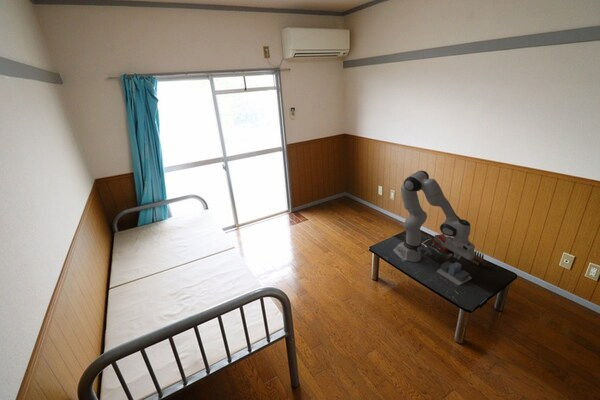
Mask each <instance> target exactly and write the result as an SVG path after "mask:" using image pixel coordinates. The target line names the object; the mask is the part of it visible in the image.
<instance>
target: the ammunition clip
mask: <svg viewBox="0 0 600 400" xmlns="http://www.w3.org/2000/svg"><path fill="white" fill-rule="evenodd" d="M474 251H475V254H474V258H473V259H472V260H468V259H466V261H467V262H469V263H470V264H472V265H474V266H476V267H477V266H478V267H477V268H479V267H480V268H479V269H481V268H483V263H484V257H485V256H484V253H482V252H479V251H478V252H477V250H474Z"/></svg>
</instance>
